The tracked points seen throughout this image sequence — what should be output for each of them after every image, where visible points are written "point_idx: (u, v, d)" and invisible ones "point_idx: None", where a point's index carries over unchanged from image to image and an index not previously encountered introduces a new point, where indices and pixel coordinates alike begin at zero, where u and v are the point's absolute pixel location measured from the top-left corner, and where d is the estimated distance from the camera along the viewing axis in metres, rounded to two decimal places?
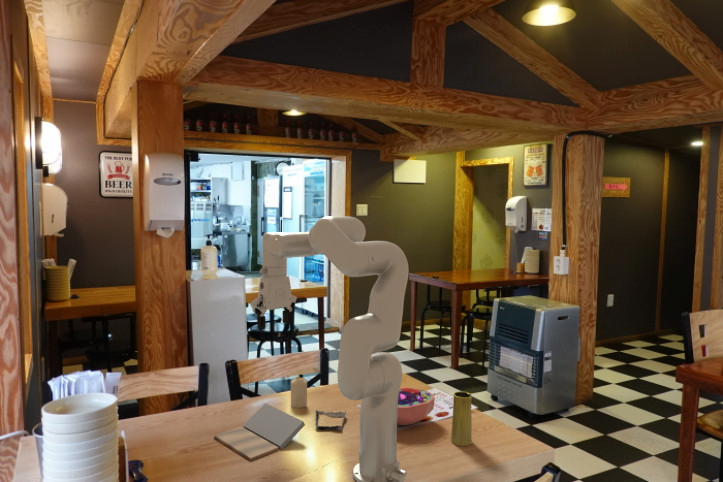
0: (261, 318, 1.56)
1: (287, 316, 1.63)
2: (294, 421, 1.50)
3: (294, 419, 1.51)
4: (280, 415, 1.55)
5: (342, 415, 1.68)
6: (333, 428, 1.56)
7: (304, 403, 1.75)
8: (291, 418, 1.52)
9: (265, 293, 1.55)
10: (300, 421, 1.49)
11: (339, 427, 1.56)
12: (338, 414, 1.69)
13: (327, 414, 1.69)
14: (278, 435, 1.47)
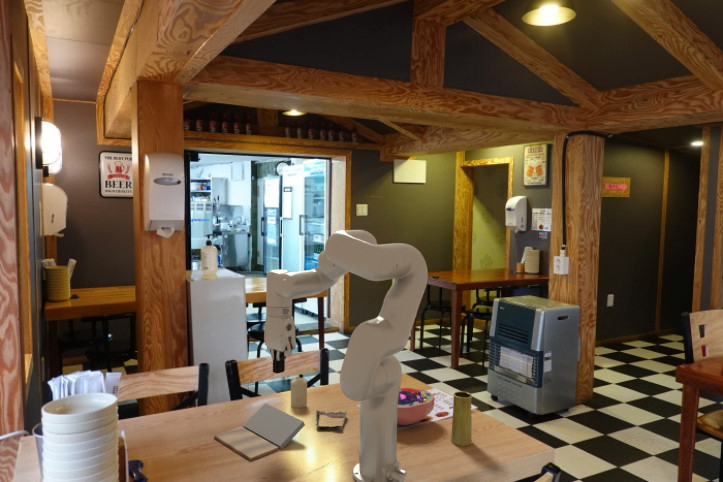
0: None
1: None
2: (294, 421, 1.50)
3: (294, 419, 1.51)
4: (280, 415, 1.55)
5: (343, 415, 1.68)
6: (334, 428, 1.56)
7: (304, 403, 1.75)
8: (291, 418, 1.52)
9: (294, 333, 1.51)
10: (300, 421, 1.49)
11: (340, 427, 1.56)
12: (339, 414, 1.68)
13: (328, 414, 1.69)
14: (278, 435, 1.47)
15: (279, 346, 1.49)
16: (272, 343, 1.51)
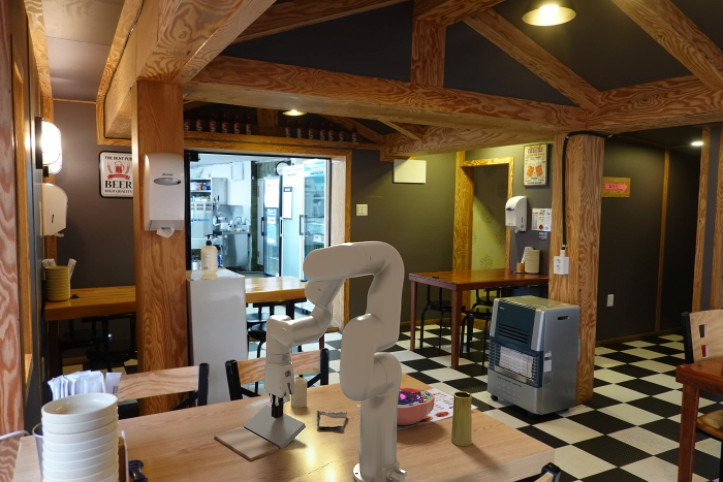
0: None
1: None
2: (295, 422, 1.50)
3: (296, 421, 1.51)
4: (281, 416, 1.55)
5: (343, 415, 1.68)
6: (335, 428, 1.56)
7: (304, 403, 1.75)
8: (292, 420, 1.52)
9: (293, 379, 1.52)
10: (301, 423, 1.49)
11: (340, 427, 1.56)
12: (339, 414, 1.68)
13: (328, 414, 1.68)
14: (279, 435, 1.47)
15: (278, 392, 1.50)
16: (271, 388, 1.53)
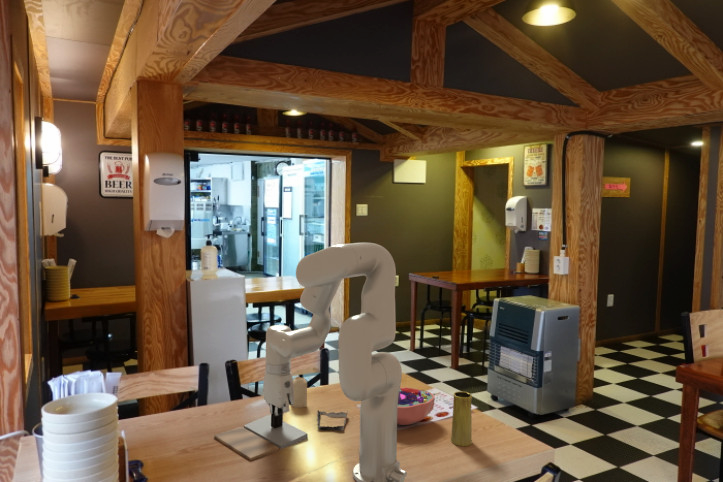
0: None
1: None
2: (297, 431, 1.51)
3: (298, 430, 1.52)
4: (284, 425, 1.56)
5: (344, 415, 1.68)
6: (335, 428, 1.56)
7: (304, 403, 1.75)
8: (295, 429, 1.53)
9: (292, 389, 1.52)
10: (304, 433, 1.50)
11: (341, 427, 1.56)
12: (340, 414, 1.68)
13: (329, 414, 1.68)
14: (280, 438, 1.48)
15: (277, 402, 1.51)
16: (271, 398, 1.53)
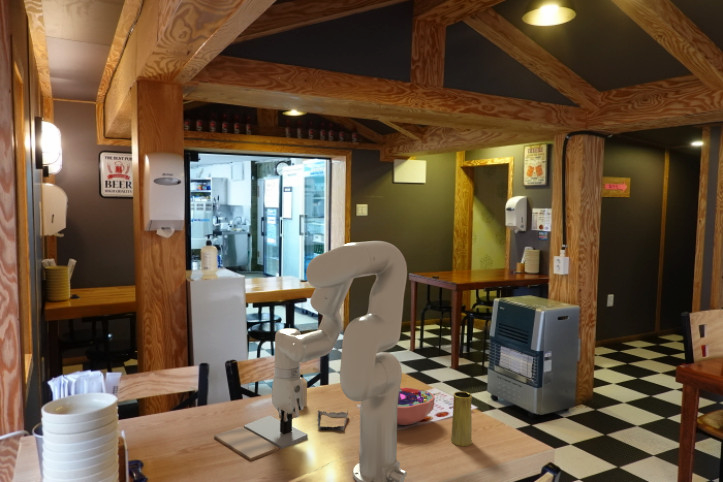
0: None
1: None
2: (298, 432, 1.51)
3: (299, 431, 1.52)
4: None
5: (344, 415, 1.68)
6: (336, 429, 1.56)
7: (304, 403, 1.75)
8: (295, 430, 1.53)
9: (302, 394, 1.49)
10: (304, 433, 1.50)
11: (341, 427, 1.56)
12: (340, 414, 1.68)
13: (329, 414, 1.68)
14: (280, 438, 1.48)
15: (287, 408, 1.47)
16: (280, 404, 1.49)
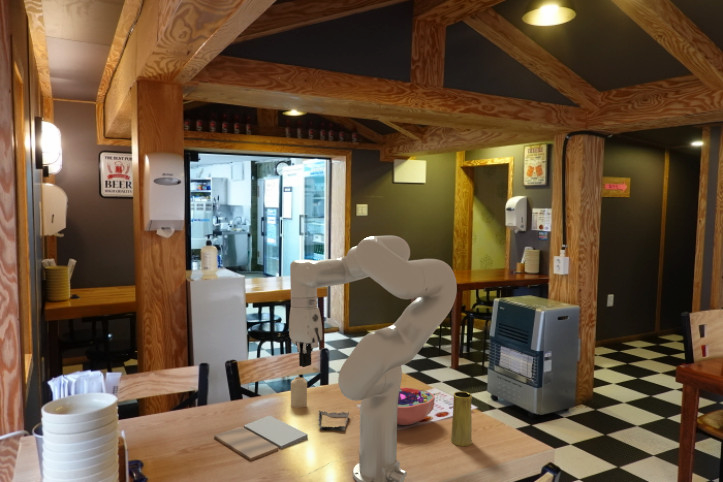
0: None
1: None
2: (298, 432, 1.51)
3: (299, 431, 1.52)
4: (284, 426, 1.56)
5: (345, 415, 1.68)
6: (337, 429, 1.56)
7: (304, 403, 1.75)
8: (295, 430, 1.53)
9: (320, 324, 1.46)
10: (304, 433, 1.50)
11: (342, 427, 1.56)
12: (341, 414, 1.68)
13: (330, 414, 1.68)
14: (280, 438, 1.48)
15: (306, 338, 1.45)
16: (298, 335, 1.47)
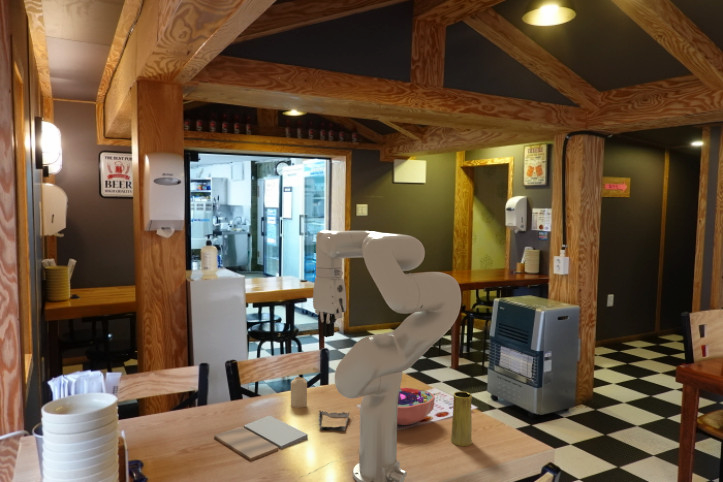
0: None
1: None
2: (298, 432, 1.51)
3: (299, 431, 1.52)
4: (284, 426, 1.56)
5: (346, 416, 1.68)
6: (337, 429, 1.56)
7: (304, 403, 1.75)
8: (295, 430, 1.53)
9: (345, 295, 1.46)
10: (304, 433, 1.50)
11: (343, 428, 1.56)
12: (342, 415, 1.68)
13: (330, 415, 1.68)
14: (280, 438, 1.48)
15: (330, 308, 1.45)
16: (322, 305, 1.47)
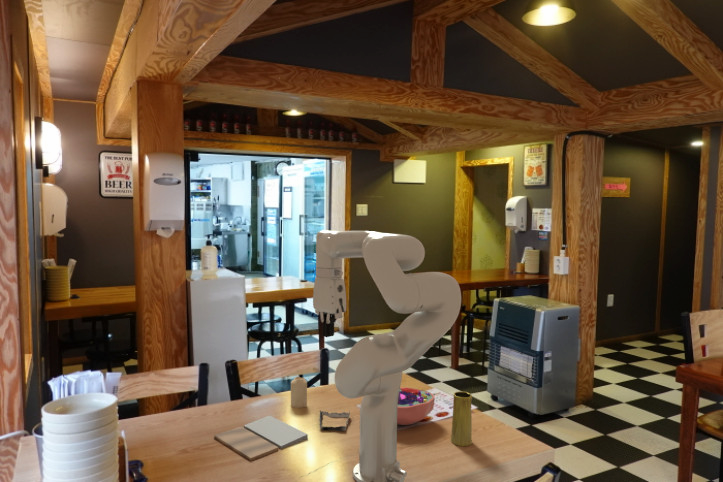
0: None
1: None
2: (298, 432, 1.51)
3: (299, 431, 1.52)
4: (284, 426, 1.56)
5: (346, 416, 1.68)
6: (338, 429, 1.56)
7: (304, 403, 1.75)
8: (295, 430, 1.53)
9: (345, 295, 1.46)
10: (304, 433, 1.50)
11: (343, 428, 1.56)
12: (342, 415, 1.68)
13: (331, 415, 1.68)
14: (280, 438, 1.48)
15: (330, 308, 1.45)
16: (322, 305, 1.47)
